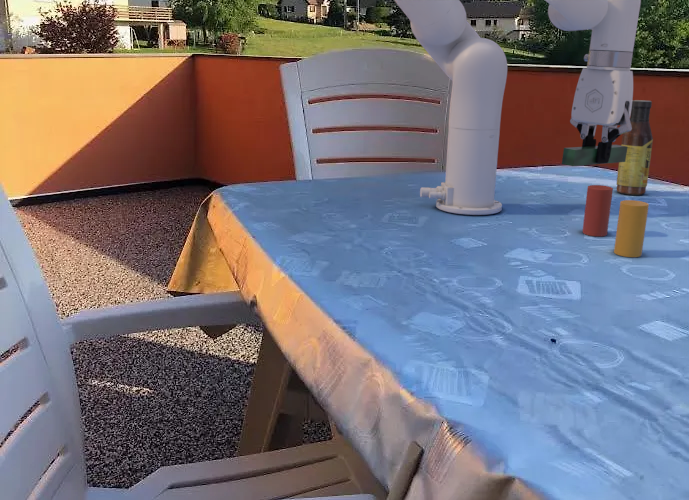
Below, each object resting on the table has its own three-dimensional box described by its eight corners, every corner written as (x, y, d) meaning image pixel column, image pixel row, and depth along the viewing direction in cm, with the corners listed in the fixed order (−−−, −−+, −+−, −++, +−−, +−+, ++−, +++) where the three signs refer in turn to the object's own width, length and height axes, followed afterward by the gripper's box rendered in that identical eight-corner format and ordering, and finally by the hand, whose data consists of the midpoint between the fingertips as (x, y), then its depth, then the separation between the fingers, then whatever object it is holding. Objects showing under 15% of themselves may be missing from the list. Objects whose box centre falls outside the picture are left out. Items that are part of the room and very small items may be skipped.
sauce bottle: (648, 196, 151) (661, 102, 146) (617, 195, 153) (629, 101, 147) (642, 190, 158) (654, 99, 152) (612, 189, 159) (624, 99, 153)
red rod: (588, 236, 118) (593, 189, 116) (578, 230, 122) (583, 184, 120) (611, 236, 119) (617, 189, 117) (600, 230, 123) (606, 185, 120)
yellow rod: (621, 257, 107) (628, 205, 105) (609, 250, 111) (615, 200, 109) (646, 257, 107) (653, 205, 105) (633, 250, 111) (640, 200, 109)
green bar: (573, 166, 129) (575, 149, 128) (561, 164, 131) (563, 147, 130) (625, 161, 138) (627, 146, 137) (613, 159, 140) (616, 144, 139)
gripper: (560, 59, 134) (547, 156, 139) (636, 63, 121) (619, 170, 126) (585, 60, 138) (571, 154, 143) (661, 64, 125) (644, 167, 130)
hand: (594, 160), depth 135 cm, fingers closed on green bar, 2 cm apart
